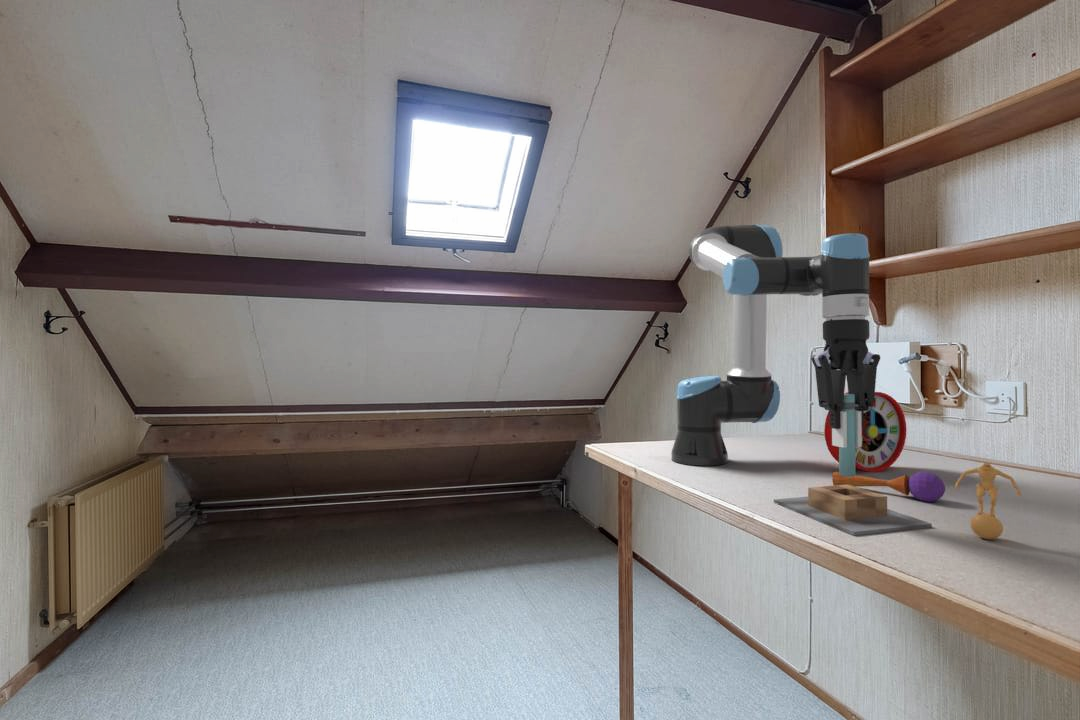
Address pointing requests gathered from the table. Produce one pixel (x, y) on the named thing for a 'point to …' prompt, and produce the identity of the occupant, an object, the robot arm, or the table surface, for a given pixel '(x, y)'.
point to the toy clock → (876, 435)
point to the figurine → (988, 523)
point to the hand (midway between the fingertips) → (846, 445)
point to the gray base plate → (851, 510)
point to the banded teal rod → (848, 439)
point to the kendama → (901, 484)
